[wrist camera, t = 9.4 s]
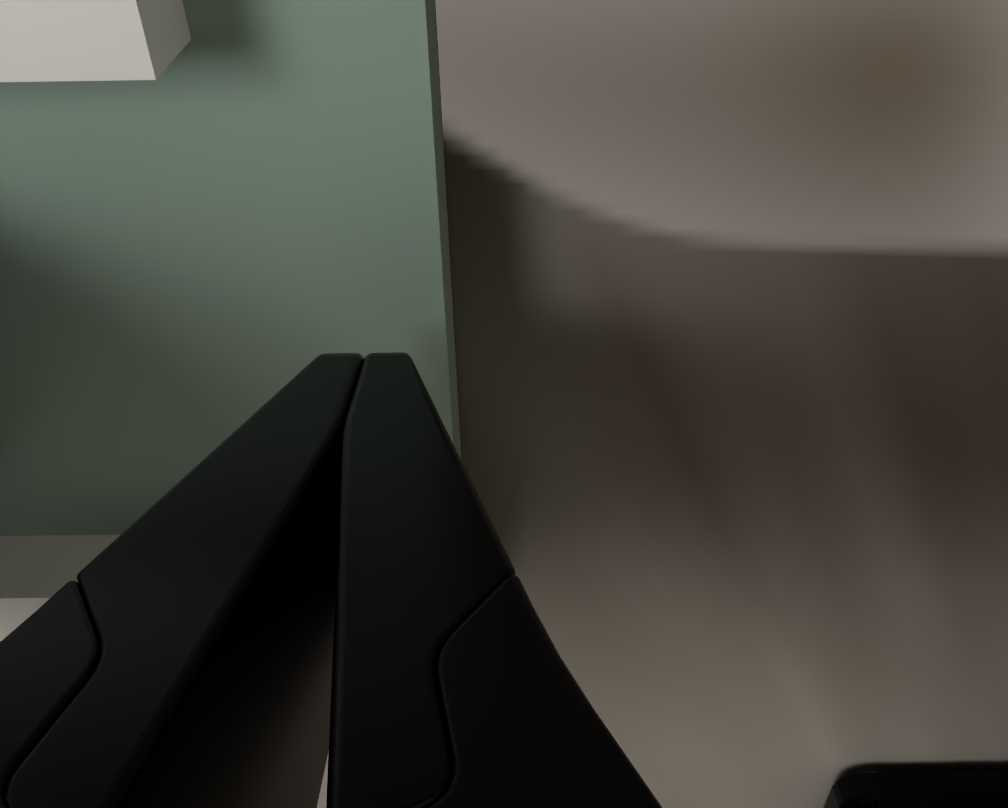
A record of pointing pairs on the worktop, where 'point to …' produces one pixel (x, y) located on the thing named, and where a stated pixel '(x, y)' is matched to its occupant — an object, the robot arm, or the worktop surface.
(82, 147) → the header board
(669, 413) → the worktop surface
